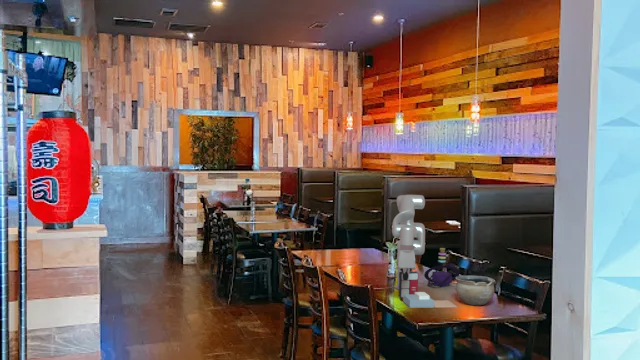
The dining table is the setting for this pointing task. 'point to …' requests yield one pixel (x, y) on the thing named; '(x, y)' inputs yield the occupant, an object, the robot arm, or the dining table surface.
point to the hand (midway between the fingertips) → (405, 280)
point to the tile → (421, 295)
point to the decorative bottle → (441, 273)
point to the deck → (417, 301)
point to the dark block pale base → (408, 284)
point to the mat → (443, 303)
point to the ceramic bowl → (475, 289)
